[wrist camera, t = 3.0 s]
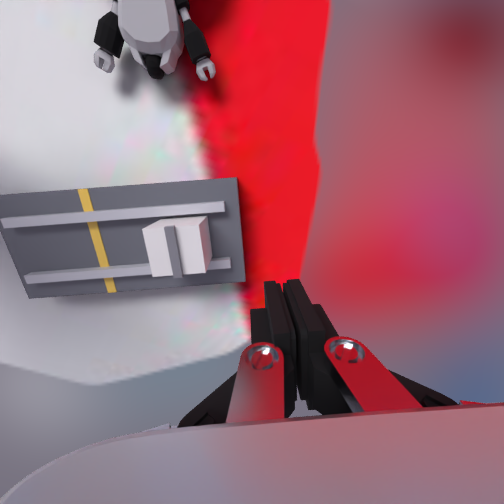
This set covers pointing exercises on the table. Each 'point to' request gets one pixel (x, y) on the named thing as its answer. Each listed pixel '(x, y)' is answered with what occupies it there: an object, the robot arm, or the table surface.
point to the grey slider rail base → (116, 235)
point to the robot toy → (152, 36)
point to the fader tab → (178, 246)
